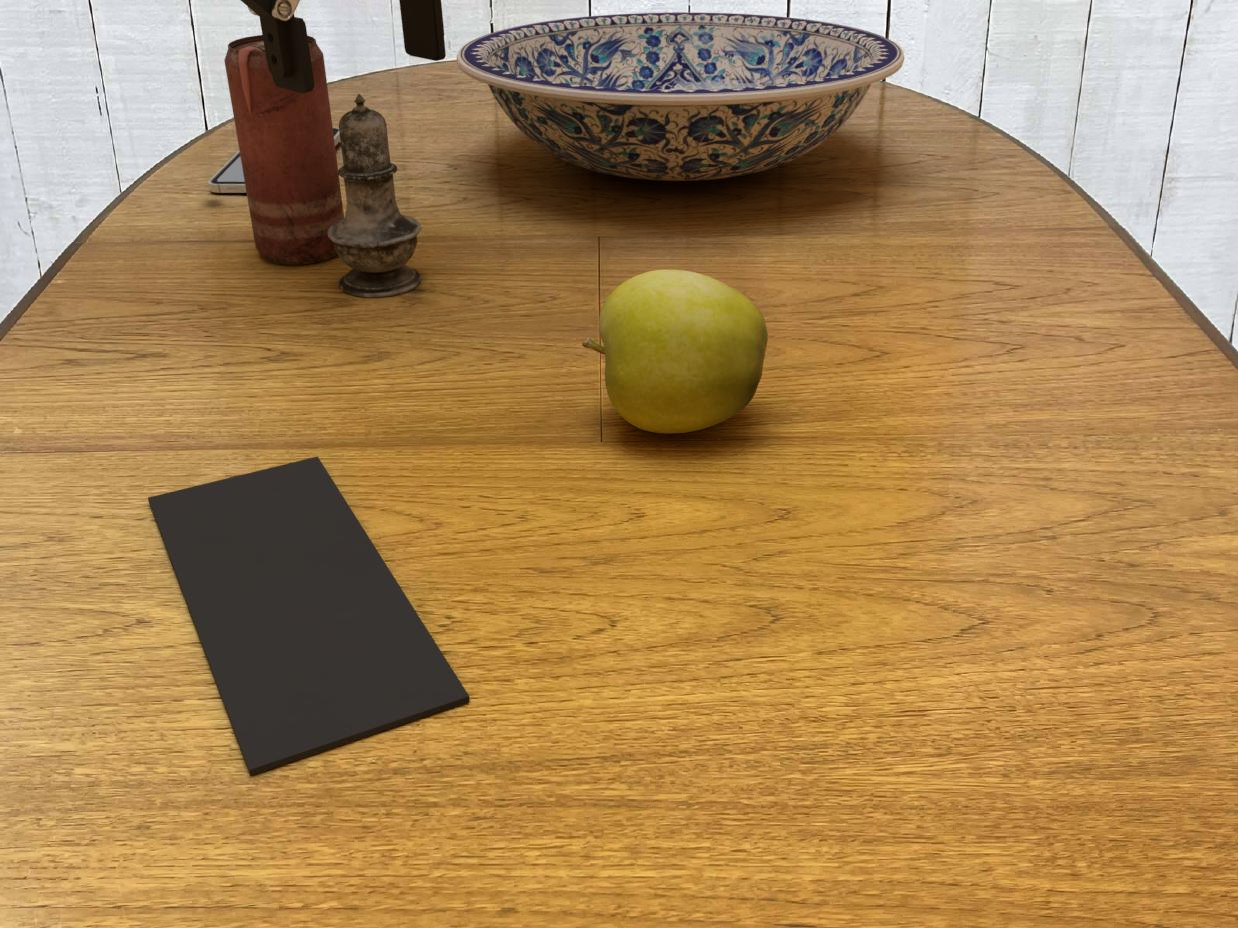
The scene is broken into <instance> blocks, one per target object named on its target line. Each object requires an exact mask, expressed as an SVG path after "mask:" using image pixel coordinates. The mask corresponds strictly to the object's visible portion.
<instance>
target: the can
mask: <svg viewBox="0 0 1238 928" xmlns="http://www.w3.org/2000/svg"><path fill="white" fill-rule="evenodd" d="M307 37H308V43H309V50H310V57H311V64H312V70H313V77H314V84H315V86H314V88H313V90H312V91H311V92H306V93H300V92H296V91H292V90H288V89H284V88H280V87H277V86H276V85H275V84H274V82H273V77H272V75H271V73H270V72H269V69H268V66H267V60H266V54H265V48H264V41H263V35H262V34H257V35H251V36H246V37H242V38H238V39H235V40H233V41H231V42H230V41H229V43H228V44H227V51H226V54H225V57H224V67H225V71H226V72H225V73H226V79H227V85H228V90H229V91H228V92H229V97H230V103H231V109H232V114H233V121H234V127H235V133H236V139H237V142H238V143H237V145H238V151H240V157H241V163H242V169H243V175H244V181H245V187H246V193H245V194H246V197H247V198H246V199H247V204H248V210H249V217H250V223H251V227H252V228H251V229H252V234H253V240H254V246H255V249H256V251H257V252H258V254H259V255H260V256H261V257H262V258H263V259H264V260H266V261H267V262H269V263H273V264H277V265H281V266H282V265H285V266H302V265H304V266H305V265H310V264H316V263H320V262H324V261H328V260H330V259H333V258H334V257H337V256H338V254H337V252H336V250H335V247H334V242H333V241H332V240H331V239H330V238H329V237H328V233H327V231H328V230H329V228H330V227H331V226H332V225H333V224H335V223H336V222H338V221H341V220H343V219H344V218H345V214H344V213H345V212H344V206H343V198H342V189H341V182H340V175H338V170H339V166H338V159H337V151H336V146H335V142H334V134H333V120H332V111H331V104H330V96H329V88H328V87H329V86H328V82H327V81H328V79H327V72H326V66H325V56H324V53H323V50H322V49H321V47H319V45H318V43H317V39H316V38H314V36H310V35H307Z"/></svg>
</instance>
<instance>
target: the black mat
mask: <svg viewBox="0 0 1238 928" xmlns="http://www.w3.org/2000/svg"><path fill="white" fill-rule="evenodd" d="M147 502H148V504H149V508H150V511H151V512H152V515H153V518H154V521H155V523H156V526H157V529H158V531H159V535H160V537H161V539H162V542H163V544H164V548H165V550H166V554H167V556H168V558H169V561H170V563H171V566H172V569H173V573H174V574H175V577H176V580H177V582H178V585H179V588H180V591H181V593H182V596H183V598H184V602H185V604H186V607H187V610H188V612H189V614H190V618H191V621H192V623H193V626H194V628H195V631H196V633H197V636H198V637H197V638H198V639H199V642H200V645H201V647H202V650H203V653H204V656H205V658H206V660H207V663H208V666H209V669H210V672H211V674H212V677H213V681H214V682H215V685H216V688H217V691H218V692H219V696H220V698H221V701H222V704H223V706H224V710H225V712H226V715H227V718H228V720H229V723H230V725H231V728H232V731H233V733H234V737H235V739H236V742H237V744H238V747H239V750H240V752H241V755H242V757H243V758H242V759H243V760H244V763H245V766H246V769H247V771H248V774H249V776H251V777H252V776H254V775H257V774H261V773H263V772H266V771H269V770H272V769H276V768H278V767H281V766H284V765H287V764H290V763H294V762H296V761H299V760H303V759H305V758H308V757H311V756H314V755H316V754H317V755H318V754H321V753H323V752H326V751H329V750H332V749H334V748H338V747H341V746H344V745H347V744H350V743H352V742H356V741H358V740H361V739H364V738H367V737H371V736H373V735H376V734H379V733H382V732H385V731H388V730H390V729H393V728H397V727H400V726H402V725H405V724H409V723H411V722H415V721H417V720H420V719H423V718H426V717H429V716H432V715H435V714H438V713H441V712H444V711H447V710H450V709H453V708H456V707H458V706H462V705H465V704H468V703H470V702H471V700H470V695H469V693H468V692H467V689H465V686H464V685H463V684H462V682H461V681H460V679H459V678H458V675H457V674H456V673H455V671H454V670H453V668H452V666H451V665H450V663H449V662H448V660H447V658H446V657H445V655H444V654H443V652H442V651H441V648H440V647H439V646H438V644H437V643H436V641H435V640H434V638H433V637H432V635H431V633H430V632H429V630H428V629H427V627H426V626H425V623H424V622H423V621H422V618H421V617H420V615H419V614H418V613H417V611H416V609H415V608H414V606H413V605H412V603H411V602H410V600H409V599H408V598H409V597H407V595H406V594H405V592H404V590H403V589H402V587H401V585H400V584H399V582H398V581H397V579H396V578H395V576H394V575H393V572H392V571H391V570H390V568H389V567H388V565H387V564H386V562H385V561H384V559H383V558H382V556H381V554H380V552H379V551H378V549H377V548H376V546H375V544H374V543H373V542H372V540H371V538H370V537H369V535H368V534H367V532H366V530H365V528H363V526H362V524H361V522H360V521H359V519H358V518H357V516H356V515H355V513H354V511H353V510H352V508H351V506H350V505H349V504H348V502H347V500H346V498H345V497H344V495H343V494H342V493H341V491H340V489H339V487H338V486H337V485H336V483H335V480H333V478H332V477H331V476H330V473H329V472H328V471H327V469H326V467H325V465H324V464H323V462H322V461H321V459H320V457H319V456H313V457H310V458H305V459H302V460H297V461H292V462H288V463H285V464H281V465H276V466H272V467H268V468H264V469H260V470H255V471H251V472H248V473H244V474H243V473H242V474H238V475H236V476H230V477H226V478H222V479H218V480H215V481H211V482H207V483H202V484H199V485H195V486H189V487H186V488H181V489H178V490H174V491H173V490H172V491H169V492H165V493H161V494H157V495H152V496H149V497H147Z"/></svg>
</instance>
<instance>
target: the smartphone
mask: <svg viewBox="0 0 1238 928" xmlns="http://www.w3.org/2000/svg"><path fill="white" fill-rule="evenodd" d="M333 134H334V142H335V147H336V146H337V145H338V144H339V143H340V142H341V141H340V133H339V127H336V126H335V127H333ZM208 189H209V191H210V192H211V193H216V194H234V193H235V194H247V193H246V187H245V181H244V175H243V169H242V163H241V157H240V151H239V150H238V151H237V152H236V153H235V154H234V155H233V156H231V158H230V159H229V160H228V161H227V162H226V163H225V164H224V165H223V166H222V167H221V168H220V169H219V170H218V171H217V172H216V173H215V174H214V175H213V176H212V177H211V178H209V180H208Z"/></svg>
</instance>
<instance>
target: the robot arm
mask: <svg viewBox="0 0 1238 928" xmlns="http://www.w3.org/2000/svg"><path fill="white" fill-rule="evenodd" d="M240 1H241V2H242V3H243V4H244V5H245V6H247V10H248V11H249V13H250V14H252V15H253V16H258V17H259V24H260V29H261V35H263V41H264V48H265V54H266V60H267V66H268V69H269V72H270V73H271V75H272V77H273V82H274V84H275V85H276V86H277V87H280V88H284V89H288V90H292V91H296V92H300V93H306V92H311V91H312V90H313V88H314V86H315V84H314V77H313V70H312V64H311V57H310V50H309V43H308V37H307V36H308V31H307V25H306V22H305V20H304V18H303V17H297V16H295V12H296V11H297V8H298V6H299V4H300V1H301V0H240ZM398 3H399V9H400V10H399V11H400V19H401V28H402V37H403V38H402V39H403V46H404V47H403V48H404V51H405V53H406V54H407V55H409V56H410V57H413V58H414V57H415V58H419V59H425V60H429V61H435V62H439V61H442V60H444V59H445V58H446V55H447V54H446V44H445V43H446V42H445V27H444V17H443V15H444V14H443V5H442V0H399V1H398Z"/></svg>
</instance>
